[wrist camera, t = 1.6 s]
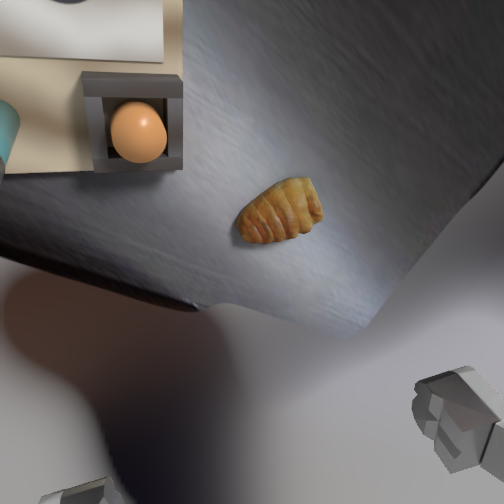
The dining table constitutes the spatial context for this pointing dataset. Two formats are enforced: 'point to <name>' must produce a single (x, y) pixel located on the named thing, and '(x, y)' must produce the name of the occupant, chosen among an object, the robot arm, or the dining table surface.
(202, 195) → the dining table surface
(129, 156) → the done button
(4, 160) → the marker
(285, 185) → the pastry
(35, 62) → the beige board with holder
